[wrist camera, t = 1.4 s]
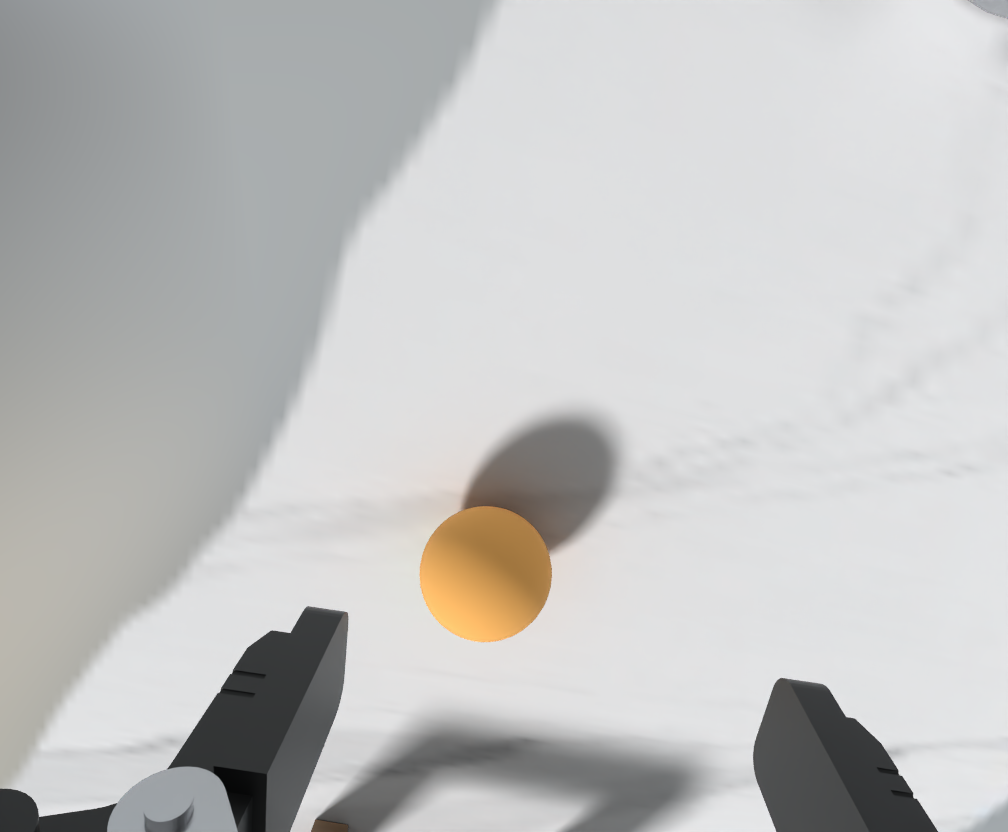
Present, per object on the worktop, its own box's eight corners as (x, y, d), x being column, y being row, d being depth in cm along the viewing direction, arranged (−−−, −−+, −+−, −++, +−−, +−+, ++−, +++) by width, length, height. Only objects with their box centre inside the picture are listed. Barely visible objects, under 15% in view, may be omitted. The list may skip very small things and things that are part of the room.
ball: (438, 475, 31) (416, 535, 25) (560, 496, 31) (566, 560, 25) (423, 581, 33) (400, 659, 27) (538, 600, 33) (539, 682, 27)
